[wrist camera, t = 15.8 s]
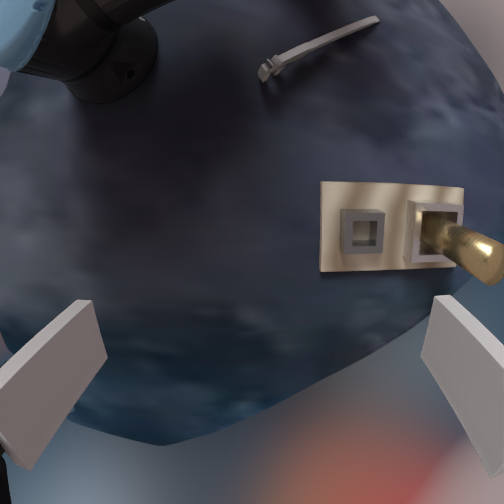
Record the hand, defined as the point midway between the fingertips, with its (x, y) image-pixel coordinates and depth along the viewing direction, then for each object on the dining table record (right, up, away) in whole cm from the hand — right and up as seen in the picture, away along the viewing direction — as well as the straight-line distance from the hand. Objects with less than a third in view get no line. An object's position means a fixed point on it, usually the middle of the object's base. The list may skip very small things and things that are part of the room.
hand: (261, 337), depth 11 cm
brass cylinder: (+25, +6, +28) cm, 38 cm away
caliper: (+9, +31, +24) cm, 40 cm away
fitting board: (+20, +7, +30) cm, 37 cm away
